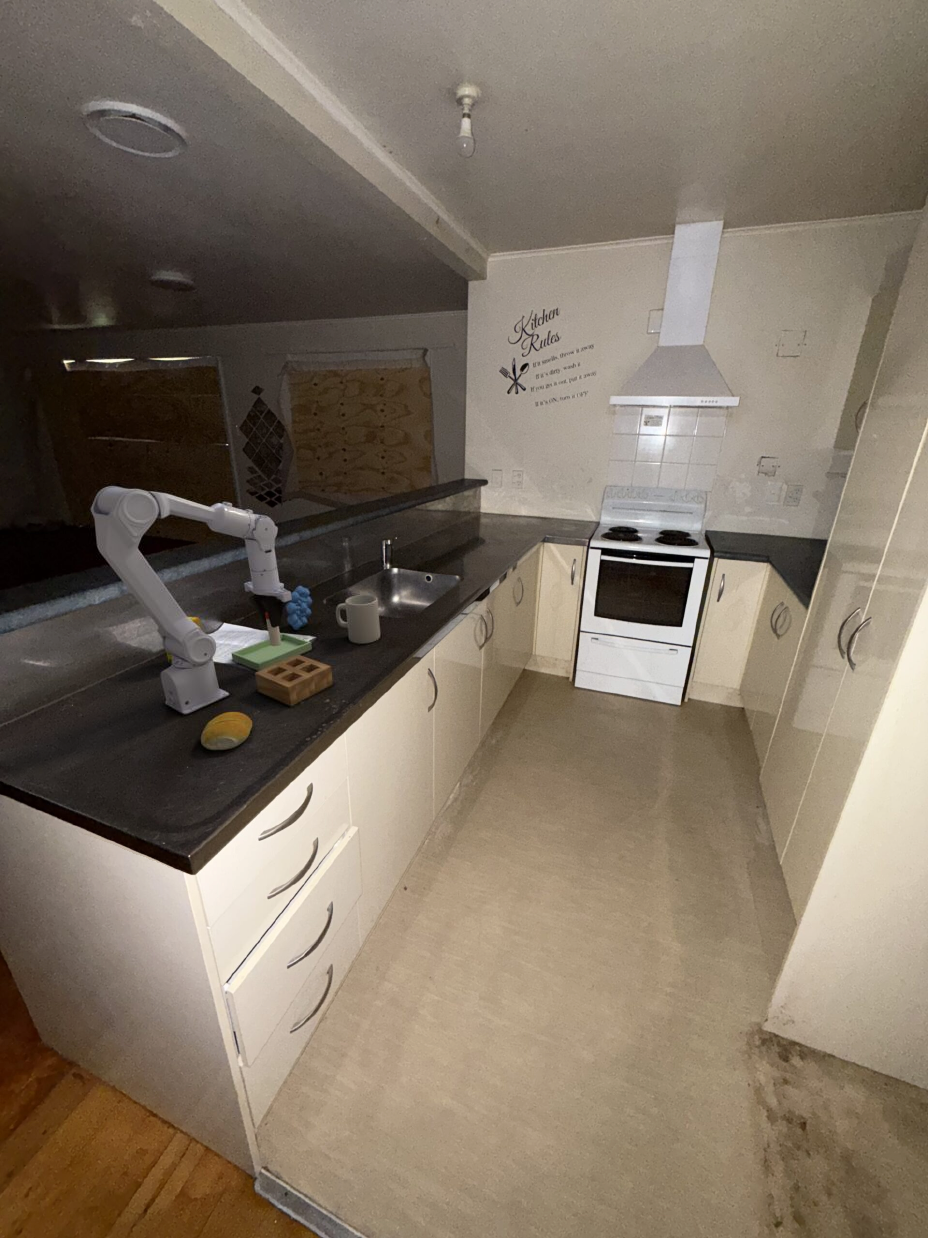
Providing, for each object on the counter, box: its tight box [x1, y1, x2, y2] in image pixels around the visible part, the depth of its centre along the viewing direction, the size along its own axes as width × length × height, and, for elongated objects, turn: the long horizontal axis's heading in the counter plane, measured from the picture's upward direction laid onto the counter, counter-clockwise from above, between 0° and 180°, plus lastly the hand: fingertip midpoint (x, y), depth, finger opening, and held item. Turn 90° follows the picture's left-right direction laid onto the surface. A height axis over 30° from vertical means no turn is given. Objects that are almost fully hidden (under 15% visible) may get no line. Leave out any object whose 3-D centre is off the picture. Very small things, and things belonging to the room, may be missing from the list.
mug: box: [335, 594, 381, 645], centre depth 131 cm, size 12×8×11 cm
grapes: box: [285, 585, 313, 631], centre depth 138 cm, size 12×7×12 cm, turn 168°
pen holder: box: [254, 654, 334, 707], centre depth 106 cm, size 11×11×4 cm
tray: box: [231, 632, 313, 672], centre depth 122 cm, size 15×11×2 cm
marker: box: [265, 612, 281, 646], centre depth 114 cm, size 2×2×8 cm
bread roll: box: [200, 711, 253, 751], centre depth 89 cm, size 8×9×4 cm
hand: (272, 624), depth 113 cm, fingers closed on marker, 2 cm apart
